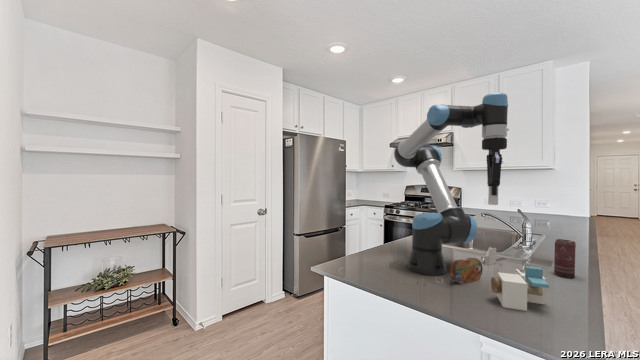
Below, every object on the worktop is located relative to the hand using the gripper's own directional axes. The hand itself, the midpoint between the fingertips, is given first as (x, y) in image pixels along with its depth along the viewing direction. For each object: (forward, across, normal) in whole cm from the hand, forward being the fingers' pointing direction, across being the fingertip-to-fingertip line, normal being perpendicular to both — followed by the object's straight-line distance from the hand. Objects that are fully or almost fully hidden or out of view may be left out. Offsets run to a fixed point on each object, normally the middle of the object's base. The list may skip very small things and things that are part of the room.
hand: (493, 204), depth 98 cm
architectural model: (+30, +29, -4) cm, 42 cm away
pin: (+27, -13, -4) cm, 30 cm away
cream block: (+29, -13, -3) cm, 32 cm away
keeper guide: (+29, -6, -10) cm, 32 cm away
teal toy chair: (+22, -12, -10) cm, 27 cm away
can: (+30, +23, -29) cm, 47 cm away
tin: (+30, +2, +8) cm, 31 cm away
